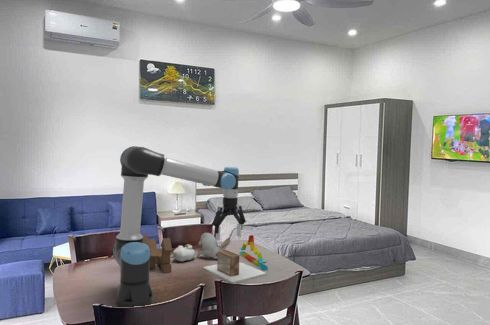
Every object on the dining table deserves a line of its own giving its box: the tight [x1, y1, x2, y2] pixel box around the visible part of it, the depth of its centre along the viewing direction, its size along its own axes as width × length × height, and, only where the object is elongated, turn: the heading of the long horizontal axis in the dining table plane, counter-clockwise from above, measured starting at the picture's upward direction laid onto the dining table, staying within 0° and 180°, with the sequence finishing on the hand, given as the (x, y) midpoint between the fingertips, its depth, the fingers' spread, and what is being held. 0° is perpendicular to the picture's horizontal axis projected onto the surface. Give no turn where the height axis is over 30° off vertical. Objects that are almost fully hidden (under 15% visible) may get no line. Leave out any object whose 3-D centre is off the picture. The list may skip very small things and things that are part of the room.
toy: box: [196, 232, 231, 260], centre depth 214 cm, size 8×15×20 cm
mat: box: [202, 261, 267, 284], centre depth 194 cm, size 22×26×1 cm
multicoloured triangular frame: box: [239, 234, 268, 271], centre depth 211 cm, size 30×3×15 cm, turn 25°
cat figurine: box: [170, 244, 196, 263], centre depth 209 cm, size 10×8×15 cm
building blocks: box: [141, 233, 173, 274], centre depth 191 cm, size 19×25×35 cm
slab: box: [217, 249, 241, 277], centre depth 189 cm, size 5×12×10 cm, turn 40°
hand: (228, 237), depth 189 cm, fingers open, 13 cm apart
